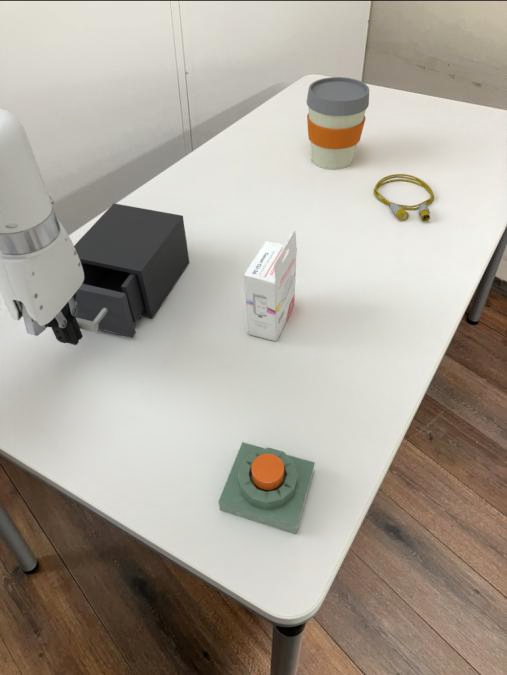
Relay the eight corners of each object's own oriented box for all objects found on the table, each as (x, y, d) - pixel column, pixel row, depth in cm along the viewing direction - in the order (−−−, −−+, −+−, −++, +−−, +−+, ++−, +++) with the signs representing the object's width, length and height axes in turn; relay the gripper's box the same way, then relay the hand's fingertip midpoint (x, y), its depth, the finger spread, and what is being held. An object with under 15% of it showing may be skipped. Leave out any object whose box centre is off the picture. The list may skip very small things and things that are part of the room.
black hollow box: (152, 319, 80) (141, 271, 73) (82, 302, 82) (64, 255, 75) (189, 262, 89) (182, 215, 82) (125, 249, 92) (113, 203, 85)
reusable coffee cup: (292, 161, 112) (294, 90, 101) (325, 140, 119) (330, 72, 108) (339, 179, 107) (347, 107, 96) (371, 156, 113) (382, 86, 102)
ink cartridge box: (265, 298, 82) (265, 221, 71) (295, 306, 81) (299, 228, 70) (245, 334, 77) (241, 257, 66) (276, 343, 75) (277, 265, 65)
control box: (219, 510, 58) (217, 494, 55) (242, 451, 63) (241, 433, 60) (295, 534, 56) (297, 519, 53) (313, 471, 61) (315, 454, 58)
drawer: (118, 358, 73) (105, 319, 67) (50, 340, 76) (32, 302, 70) (170, 280, 84) (163, 241, 79) (109, 267, 87) (98, 229, 81)
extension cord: (362, 214, 98) (364, 205, 96) (381, 175, 108) (383, 166, 106) (427, 227, 94) (429, 218, 93) (440, 185, 104) (443, 176, 103)
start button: (247, 485, 56) (246, 477, 55) (257, 457, 59) (257, 449, 57) (278, 494, 55) (278, 487, 54) (287, 466, 58) (288, 458, 56)
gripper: (34, 188, 63) (76, 298, 76) (-51, 262, 53) (14, 372, 67) (87, 198, 61) (120, 308, 74) (9, 276, 51) (63, 386, 65)
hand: (70, 338), depth 70 cm, fingers closed
